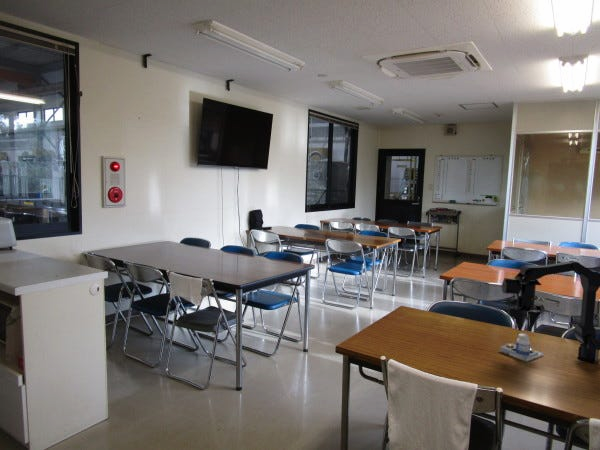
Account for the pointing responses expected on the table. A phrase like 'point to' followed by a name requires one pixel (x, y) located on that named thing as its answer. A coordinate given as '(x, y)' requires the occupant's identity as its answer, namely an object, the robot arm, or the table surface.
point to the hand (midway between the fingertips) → (525, 328)
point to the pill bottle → (523, 344)
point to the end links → (511, 350)
